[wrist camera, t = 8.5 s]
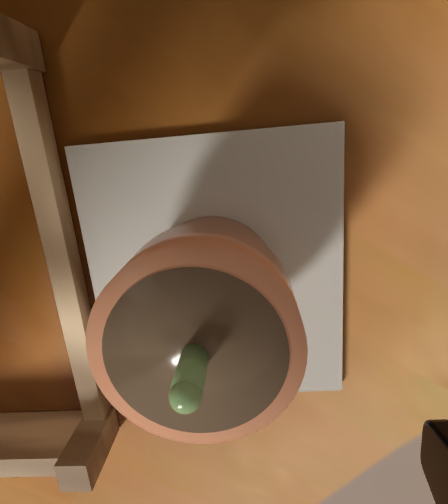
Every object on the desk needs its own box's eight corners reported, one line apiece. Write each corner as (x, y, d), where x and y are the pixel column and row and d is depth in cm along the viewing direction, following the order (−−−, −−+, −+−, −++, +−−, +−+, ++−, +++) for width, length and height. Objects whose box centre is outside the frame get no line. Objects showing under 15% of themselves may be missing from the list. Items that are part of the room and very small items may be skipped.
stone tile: (340, 384, 18) (342, 390, 17) (118, 392, 18) (115, 397, 18) (341, 121, 14) (344, 120, 14) (68, 146, 15) (64, 146, 15)
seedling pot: (287, 336, 17) (324, 509, 9) (153, 342, 17) (77, 512, 9) (281, 200, 15) (323, 269, 7) (132, 211, 15) (16, 287, 8)
